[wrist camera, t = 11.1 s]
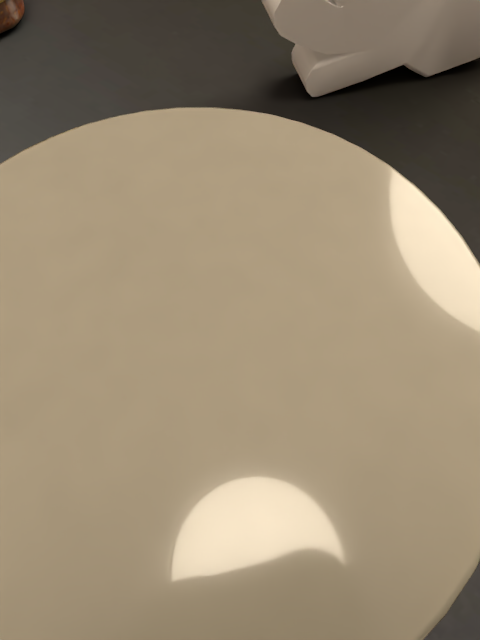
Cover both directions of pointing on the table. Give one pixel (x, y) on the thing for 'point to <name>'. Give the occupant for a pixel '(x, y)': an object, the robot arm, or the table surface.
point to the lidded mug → (231, 387)
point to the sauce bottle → (10, 13)
